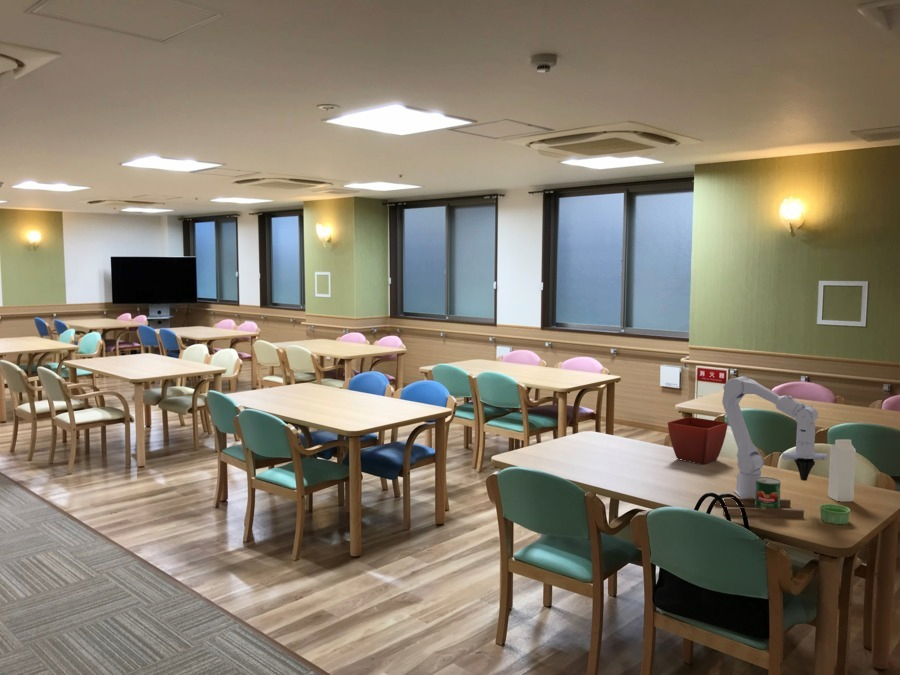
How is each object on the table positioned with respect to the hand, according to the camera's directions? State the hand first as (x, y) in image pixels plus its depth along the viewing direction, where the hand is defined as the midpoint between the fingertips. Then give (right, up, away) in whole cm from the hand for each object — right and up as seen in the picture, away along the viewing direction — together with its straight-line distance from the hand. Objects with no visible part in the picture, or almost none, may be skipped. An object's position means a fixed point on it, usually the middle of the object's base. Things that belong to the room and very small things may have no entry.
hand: (803, 479), depth 251 cm
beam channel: (-17, -10, -3) cm, 20 cm away
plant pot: (-15, -5, +66) cm, 68 cm away
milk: (+19, -9, +11) cm, 23 cm away
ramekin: (+4, -11, -12) cm, 17 cm away
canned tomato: (-14, -10, -3) cm, 18 cm away
